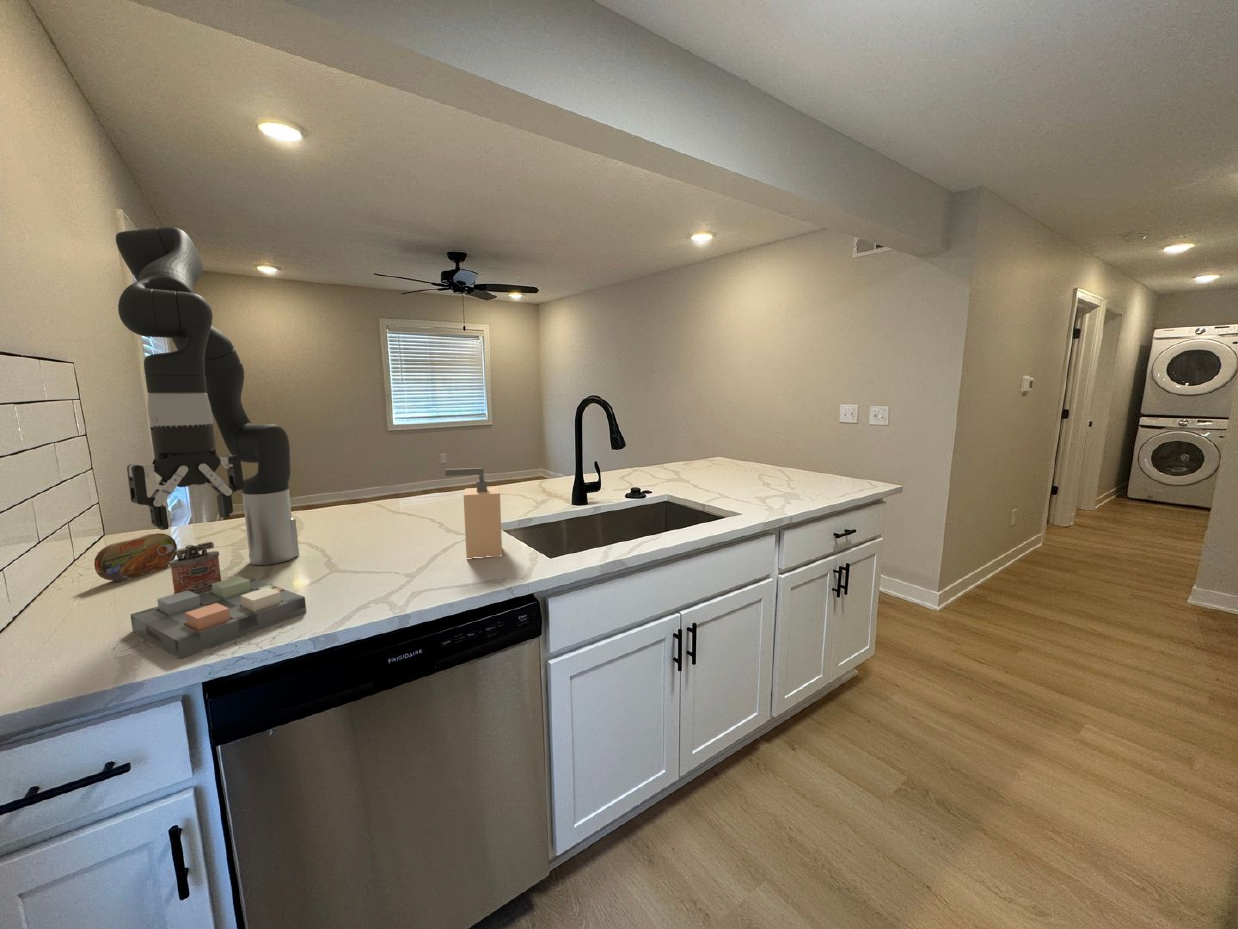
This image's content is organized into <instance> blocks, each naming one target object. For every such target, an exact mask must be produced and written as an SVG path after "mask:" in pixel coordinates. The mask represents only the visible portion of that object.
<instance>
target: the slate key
mask: <svg viewBox="0 0 1238 929" xmlns="http://www.w3.org/2000/svg"><path fill="white" fill-rule="evenodd" d="M156 601H157V605H158V607H159V612H161V613H163V614H164V615H166V616H169V615H173V614H176V613H179V612H182V611H186V610H189V609H192V608H196V607H199V606H201V605H200V598H199V594H195V593H193V592H191V591H189V590H187V591H184V592H180V593H177V594H174V593H173V594H171V595H166V596H163V597H159V598H157V600H156Z"/></svg>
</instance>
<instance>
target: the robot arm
mask: <svg viewBox="0 0 1238 929" xmlns="http://www.w3.org/2000/svg"><path fill="white" fill-rule="evenodd" d="M115 235H116V236H115V244H116V246H117V249H118V251H119V253H120V255H121V257H122V259H123V261H124V262H125V265H126V266H127V267H128V269H129V270H130V272H131V274H132V275H133V277H134V279H135V280H136V282H133V283H131V284H129V285H128V286H127V287H125V289H124V290H123V291H122V293H121V294H120V297H119V300H118V304H117V307H118V309H117V310H118V316H119V318H120V320H121V322H122V323H123V326H125V327H126V328H127V329H128V330H130V331H131V332H132V333H134V334H136V335H139V336H142V337H147V338H167V339H171V340H172V342H173V345H175V348H176V350H174V351H169V352H160V353H154V354H150V355H147V356H146V357H145V358H144V361H143V370H144V377H145V385H146V390H147V415H148V422H149V428H150V436H151V443H152V444H151V445H152V450H153V461H152V462H151V463H146V464H145V463H144V464H136V463H131V464H128V465H127V466H126V471H127V472H126V473H127V480H128V487H129V489H128V490H129V494H130V501H131V503H133V504H137V505H140V506H148V508H149V513H150V520H151V524H152V525H153V526H154V527H156V528H157V529H158V530H160V531H165V530H169V529H170V528H169V527H170V526H169V525H170V524H169V519H168V512H167V506H166V505H164V503H165V502H166V500H167V499H168V497H169V496H170V494H172V493H174V491H175V490H176V488H177V487H178V488H185V487H191V486H193V485H194V486H196V485H197V486H201V485H205V484H206V485H207V486H210V487H211V488H212V489H213V490H214V491H215V492H216V493H217V494H218V495H216V501H217V507H218V508H217V510H218V515H219V517H220V518H222V519H227V518H230V517H231V514H233V512H234V507H233V506H234V505H233V499H232V498H233V497H232V496H233V494H234V493H235V492H237V491H241V494H242V496H241V497H242V503H243V512H244V520H245V529H246V530H245V531H246V537H247V538H246V539H247V540H246V541H247V548H248V558H249V563H250V565H254V566H269V565H275V564H280V563H284V562H286V561H290V560H292V559H294V558H295V557H298V556H300V549H299V547H300V546H299V541H298V540H299V539H298V530H297V529H298V528H297V519H295V517H292V507H291V499H290V498H291V497H290V489H289V486H290V485H289V482H290V478H291V449H290V448H291V446H290V441H289V436H288V434H287V432H286V431H285V429H284V428H283V427H282V426H280V425H278V424H275V423H274V424H273V423H272V424H269V423H263V424H262V423H252V422H251V420H250V418H249V417H248V415H247V413H246V411H245V408H244V407H243V404H242V392H243V387H244V382H245V368H244V365H243V363H242V361H241V359H240V357H239V354H238V353H237V351H236V349H235V347H234V345H233V343H232V341H231V340H230V339H229V337H228V336H226V335H225V334H224V333H223V332H222V331H220V329H217V328H216V327H214V326H213V325H212V323H213V318H214V317H213V309H212V308H211V305H210V304H209V303H208V301H207V300H206V299H205V298H204V297H203V296H201V295H200V294H197V293H195V286H196V284H197V282H198V281H199V279H200V277H201V275H202V274H203V263H202V259H201V256H200V254H199V252H198V249H197V248H196V245H195V244H194V241H193V240H192V239H191V237H190V236H189V235H188V233H186V232H185V231H184V230H183V229H181V228H178V227H172V226H161V227H159V226H158V227H153V228H143V229H142V228H141V229H134V230H133V229H131V230H125V231H119V232H118V233H116V234H115ZM214 421H215V422H216V425H217V427H218V430H219V432H220V434H221V437H222V439H223V442H224V444H225V446H226V448H227V450H228V452H229V453H230V454H226V455H225V456H218V453H217V445H216V440H215V429H214V423H213V422H214ZM242 463H248V464H250V463H254V464H257V473H256V474H254V475H252V476H251V477H248V478H245V479H244V477H243V469H242ZM220 465H222V467H223V468H224V469H226V473H227V481H228V484H226V483H225V481H224V480H223V479H222V478H221V477H220V476H219V475H218V474H217V473H216V471H217V469H218V468H219V466H220ZM152 472H154V473H155V474H157V475H158V476H159V477H160V478H159V480H158V481H157V482H156V484H155V486H154V488H153V490H152V492H151V494H150V495H149V496H148V491H147V490H148V489H147V484H146V483H147V481H146V479H148V478H149V477H150V476H151V473H152Z"/></svg>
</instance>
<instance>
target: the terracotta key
mask: <svg viewBox="0 0 1238 929" xmlns="http://www.w3.org/2000/svg"><path fill="white" fill-rule="evenodd" d="M185 616H186V623H187V627H189V628H191V629H193V630H195V631H199V630H202V629H205V628H208V627H211V626H214V625H217V624H220V623H223V622H226V621H229V620H230V611H229V608H227V607H225V606H223V605H220V604H218V603H215V604H211V605H208V606H205V607H202V608H199V609H195V610H192V611H189V612H186V613H185Z"/></svg>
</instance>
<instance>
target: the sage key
mask: <svg viewBox="0 0 1238 929" xmlns="http://www.w3.org/2000/svg"><path fill="white" fill-rule="evenodd" d="M212 591H213V595H214V596H216V597H219V598H221V599H225V598H228V597H231V596H235V595H238V594H241V593H244V592H248V591H251V588H250V579H247V578H244V577H241V576H234V577H230V578H228V579H227V578H226V579H224V580H221V581H220V582H216V583H212Z"/></svg>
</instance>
